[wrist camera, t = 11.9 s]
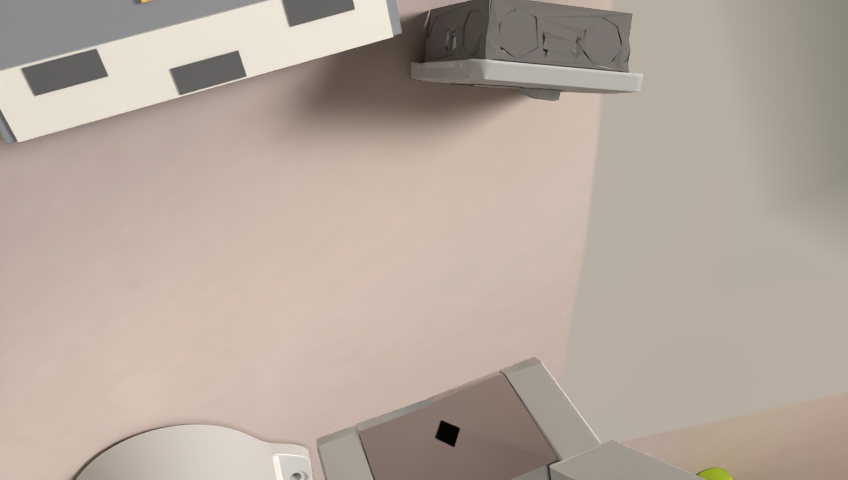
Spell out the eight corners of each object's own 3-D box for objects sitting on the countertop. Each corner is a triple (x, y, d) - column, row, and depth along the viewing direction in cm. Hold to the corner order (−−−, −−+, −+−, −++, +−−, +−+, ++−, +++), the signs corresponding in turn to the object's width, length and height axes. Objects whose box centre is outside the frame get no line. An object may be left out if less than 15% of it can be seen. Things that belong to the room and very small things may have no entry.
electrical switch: (403, 76, 40) (467, 116, 32) (415, -21, 38) (486, -4, 30) (548, 88, 43) (638, 127, 35) (565, -1, 41) (665, 19, 34)
